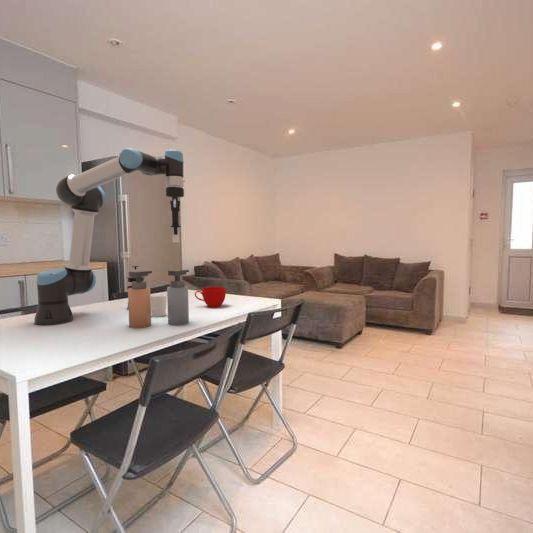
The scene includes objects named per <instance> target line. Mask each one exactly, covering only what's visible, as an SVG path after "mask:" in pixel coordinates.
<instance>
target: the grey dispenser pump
mask: <svg viewBox="0 0 533 533" xmlns="http://www.w3.org/2000/svg"><path fill="white" fill-rule="evenodd" d="M149 274H153V271H152V270H136V271H135V270H133V271H128V277H136V282H142V277H149Z"/></svg>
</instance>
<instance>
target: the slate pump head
mask: <svg viewBox="0 0 533 533" xmlns="http://www.w3.org/2000/svg"><path fill="white" fill-rule="evenodd" d="M189 272H190V270H189V269H172V270H168V271H167V273H168V274H167V275H168V276H173V277H174V280H175V281H180V280H181V276H184V275H187V273H189Z"/></svg>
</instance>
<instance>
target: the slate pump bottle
mask: <svg viewBox="0 0 533 533" xmlns="http://www.w3.org/2000/svg"><path fill="white" fill-rule="evenodd" d="M185 283H186V282H185V279H180V281H175V279H172V280H170V286H167V287H166V293H167V294H166V305H167V324H168V325H170V326H185V325H188V324H189V323H190V321H189V320H190V318H189V314H190V313H189V312H190V311H189V309H190V308H189V286H187V285H186V284H185Z"/></svg>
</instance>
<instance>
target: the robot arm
mask: <svg viewBox="0 0 533 533" xmlns="http://www.w3.org/2000/svg"><path fill="white" fill-rule="evenodd" d="M164 152H165V153H164V155H162V156H153V155H150V154H148V153H145V152H142V151H140V150H137V149H136V148H131V147H126V148H123V149H122V150H121V152H120V153H119V155H118V156H117V157H114V158H112V159H110V160H108V161H106V162H103V163H100V164H98V165H97V166H94V167H91V168H90V169H87V170H84V171H83V172H80V173H78V174H69V175H68V176H65V177H63V178H62V179H60V181H59V182H57V185H56V188H55V192H56V193H55V194H56V196H57V198H58V199H59V201H61V202H62V203H64V204H65V205H68V206H71V208H70V209H71V210H72V211H73V213H74V215H73V216H74V217H73V225H72V233H71V242H70V243H71V245H70V252H69V262H68V263H67V264H65V265H64V268H54V269H45V270H43V271H41V272H38V273H37V276H36V287H37V303H38V305H37V308H36V312H35V315H34V325H38V326H49V325H60V324H65V323H68V322H69V323H70V322H71V321H74V314H73V311H72V310H71V307H70V304H69V297H70V296H75V295H81V294H84V293H88V292H90V291H91V290H93V289H94V287H95V285H96V283H97V277H96V275H95V272H94V271H93V267H92V266H91V265H90V260H91V250H92V242H93V235H94V224H95V216H97V215H98V214H99V211H100V209H101V208H103V206H104V205H105V204H106V193H105V191H104V190H103V188H102V187H101V186H102V185H105V184H108V183H110V182H112V181H115V180H117V179H119V178H122V177H124V176H126V175H128V174H131V173H134V172H136V171H138V172H139V171H140V173H142V174H143V175H145V176H156V175H158V176H159V175H165V187H166V188H165V196H166V197H167V198H171V200H170V201H169V203H170V211H171V220H172V221H171V225H170V228H171V229H172V243H180V228H181V225H180V224H179V223H180V222H179V219H180V218H179V217H180V216H179V214H180V213H179V212H180V206H181V201H180V200H179V198H184V197H185V189H184V183H185V182H186V180H185V179H184V162H185V161H184V155H183V152H182V151H180V150H178V149H167V150H165V151H164Z"/></svg>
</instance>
